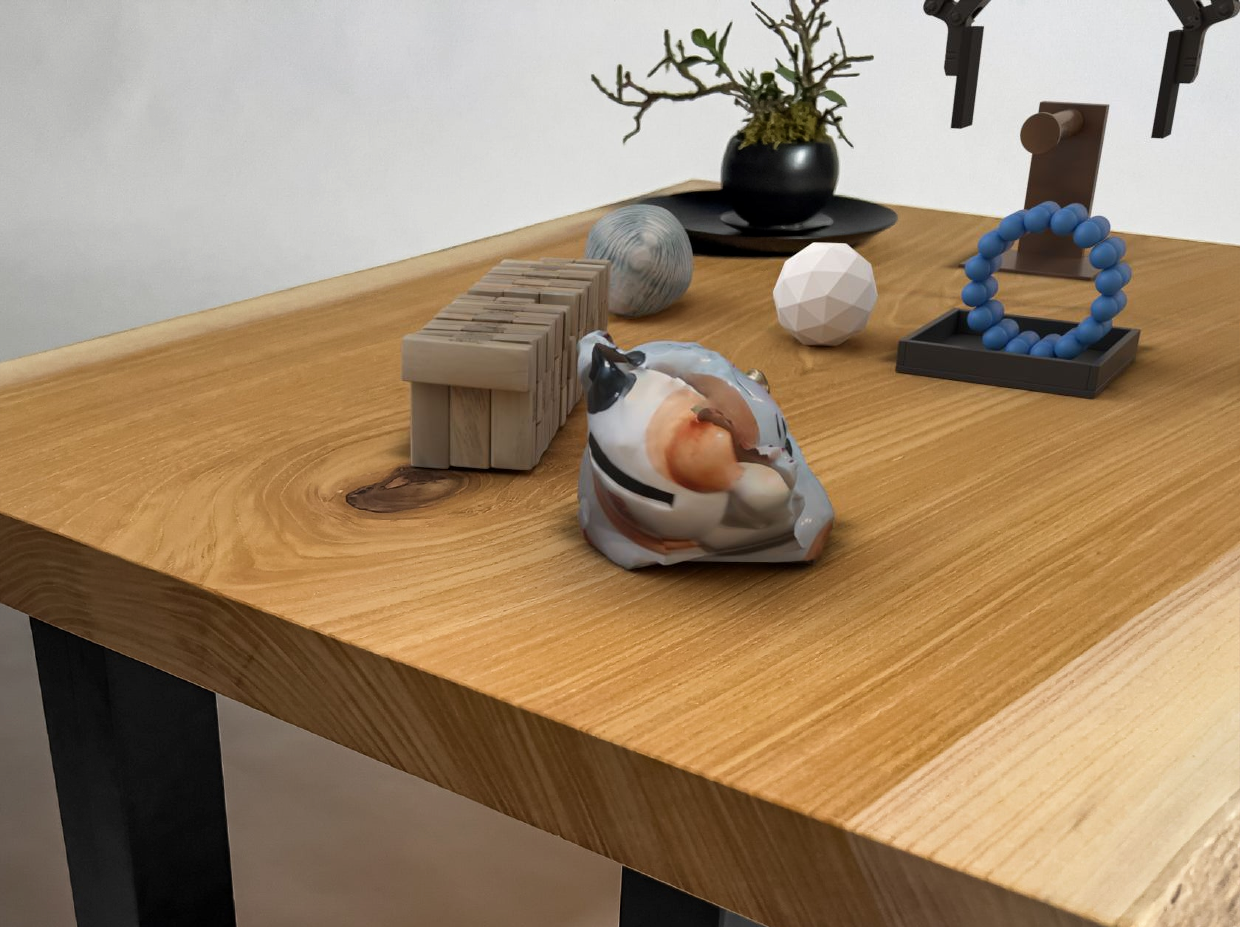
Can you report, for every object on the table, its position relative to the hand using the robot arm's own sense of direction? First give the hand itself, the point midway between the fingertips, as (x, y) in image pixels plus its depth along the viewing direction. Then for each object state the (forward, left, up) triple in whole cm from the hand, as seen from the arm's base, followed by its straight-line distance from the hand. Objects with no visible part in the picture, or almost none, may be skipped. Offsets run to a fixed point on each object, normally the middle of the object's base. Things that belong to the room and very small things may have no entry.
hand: (1058, 132), depth 111 cm
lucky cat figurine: (+3, +49, -17) cm, 52 cm away
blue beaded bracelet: (-1, 0, -10) cm, 10 cm away
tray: (0, 0, -16) cm, 16 cm away
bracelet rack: (+8, -36, -16) cm, 40 cm away
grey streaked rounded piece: (+33, -3, -17) cm, 37 cm away
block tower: (+25, +31, -17) cm, 43 cm away
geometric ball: (+15, +1, -17) cm, 23 cm away
